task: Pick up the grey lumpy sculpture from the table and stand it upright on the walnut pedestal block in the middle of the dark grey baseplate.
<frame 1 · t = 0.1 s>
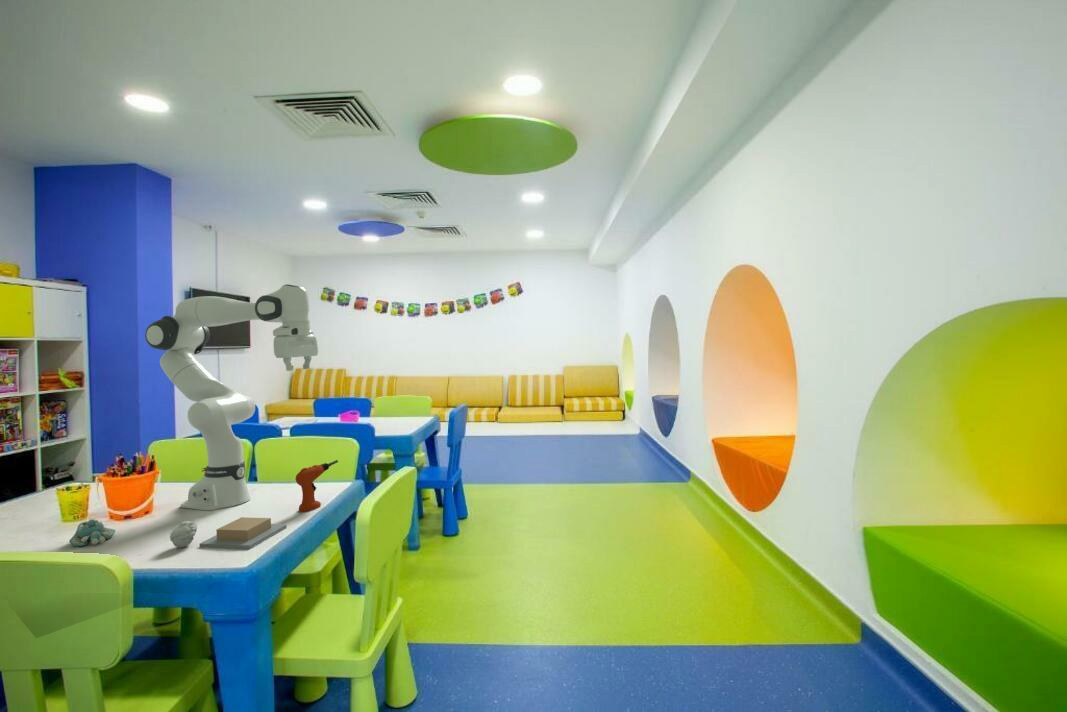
hand: (298, 369, 179), 48 cm above the table, tool pointing down, fingers open, 8 cm apart
grey lumpy sculpture: (184, 547, 145), on the table
toy drill: (320, 504, 180), on the table
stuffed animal: (93, 542, 151), on the table
baseplate: (245, 536, 151), on the table
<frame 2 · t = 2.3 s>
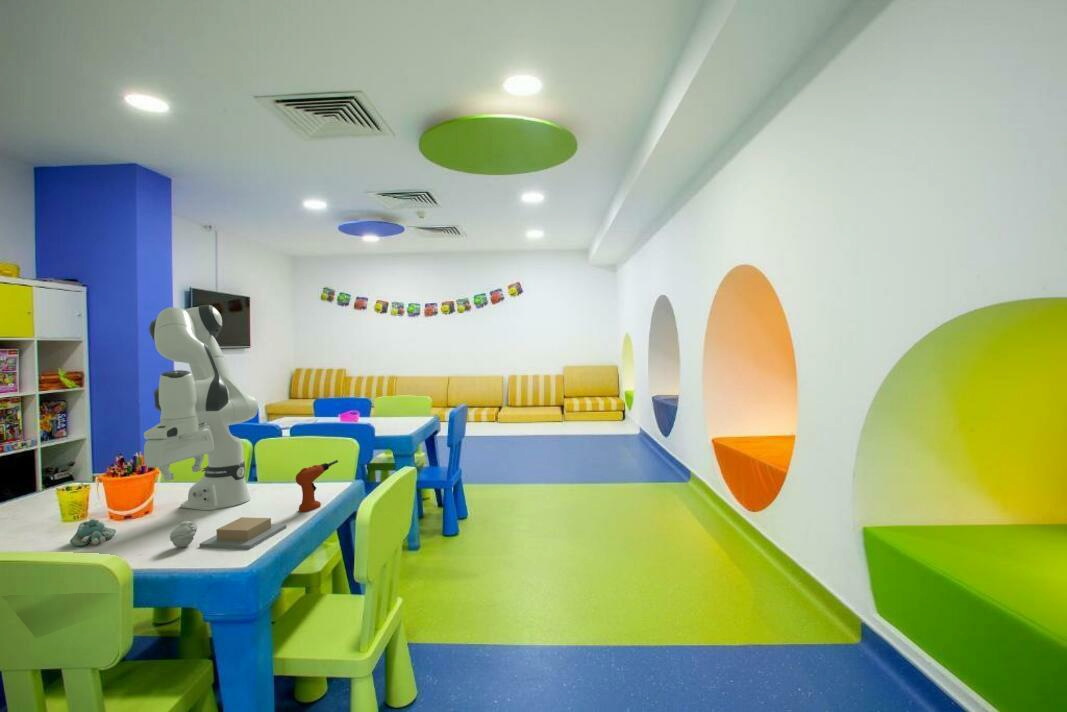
hand: (183, 475, 145), 20 cm above the table, tool pointing down, fingers open, 8 cm apart
nothing on the table moved.
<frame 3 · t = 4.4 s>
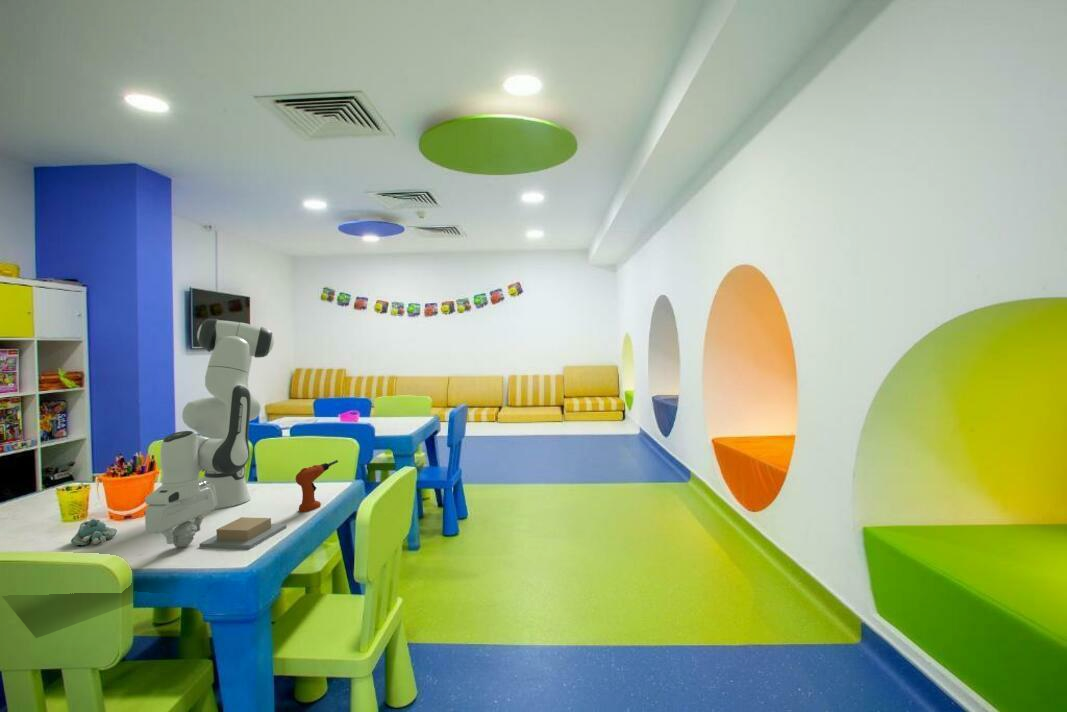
hand: (184, 537, 145), 3 cm above the table, tool pointing down, fingers closed on grey lumpy sculpture, 7 cm apart
grey lumpy sculpture: (184, 547, 145), on the table, touching gripper
everything else where it was.
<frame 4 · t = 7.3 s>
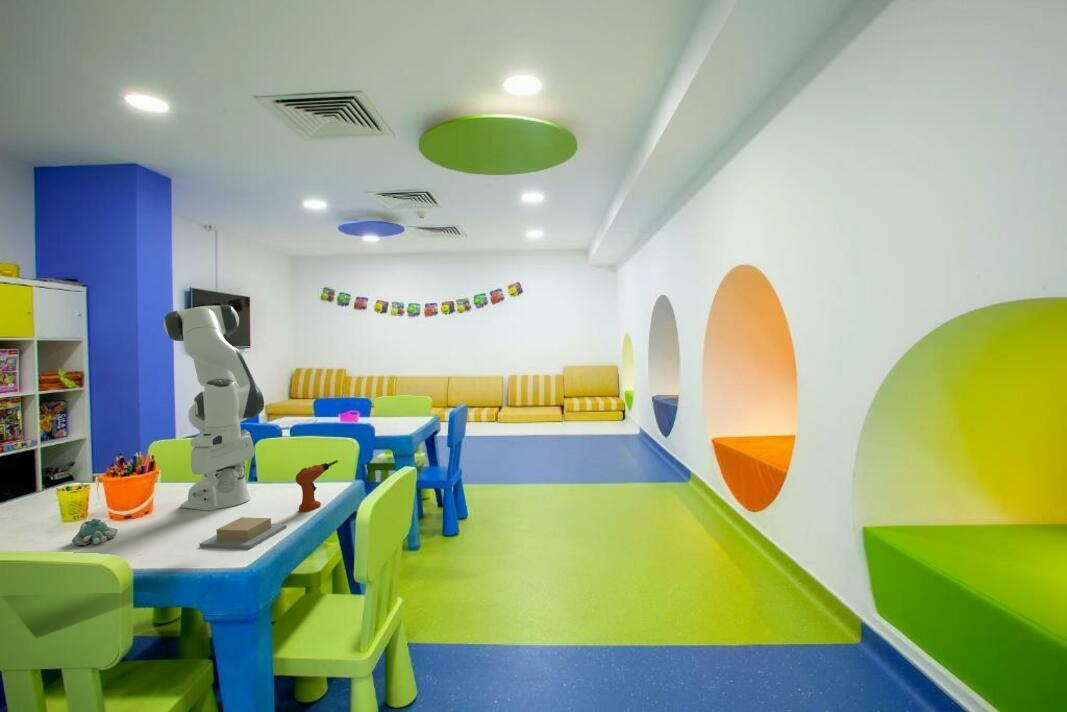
hand: (226, 481, 149), 17 cm above the table, tool pointing down, fingers closed on grey lumpy sculpture, 7 cm apart
grey lumpy sculpture: (227, 493, 149), point 14 cm above the table, touching gripper
everything else where it was.
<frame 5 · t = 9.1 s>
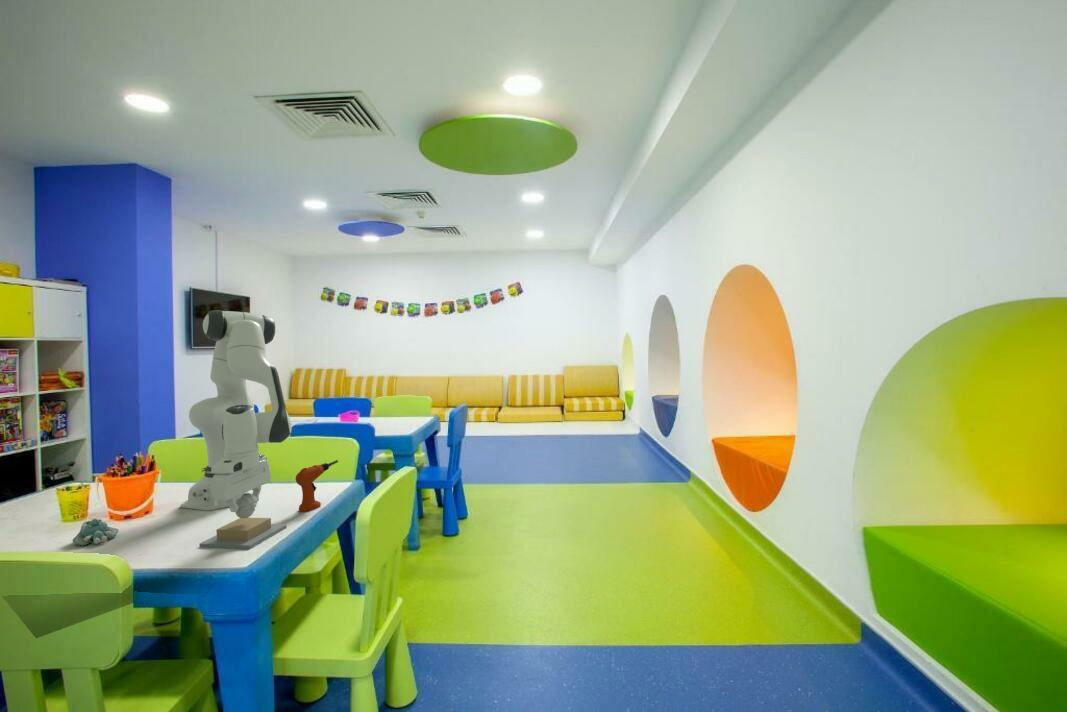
hand: (245, 506, 151), 9 cm above the table, tool pointing down, fingers closed on grey lumpy sculpture, 7 cm apart
grey lumpy sculpture: (246, 517, 151), point 6 cm above the table, touching gripper
everything else where it was.
when the fingers open (8 cm above the table, at t = 10.3 s): grey lumpy sculpture stays where it is, resting on baseplate.
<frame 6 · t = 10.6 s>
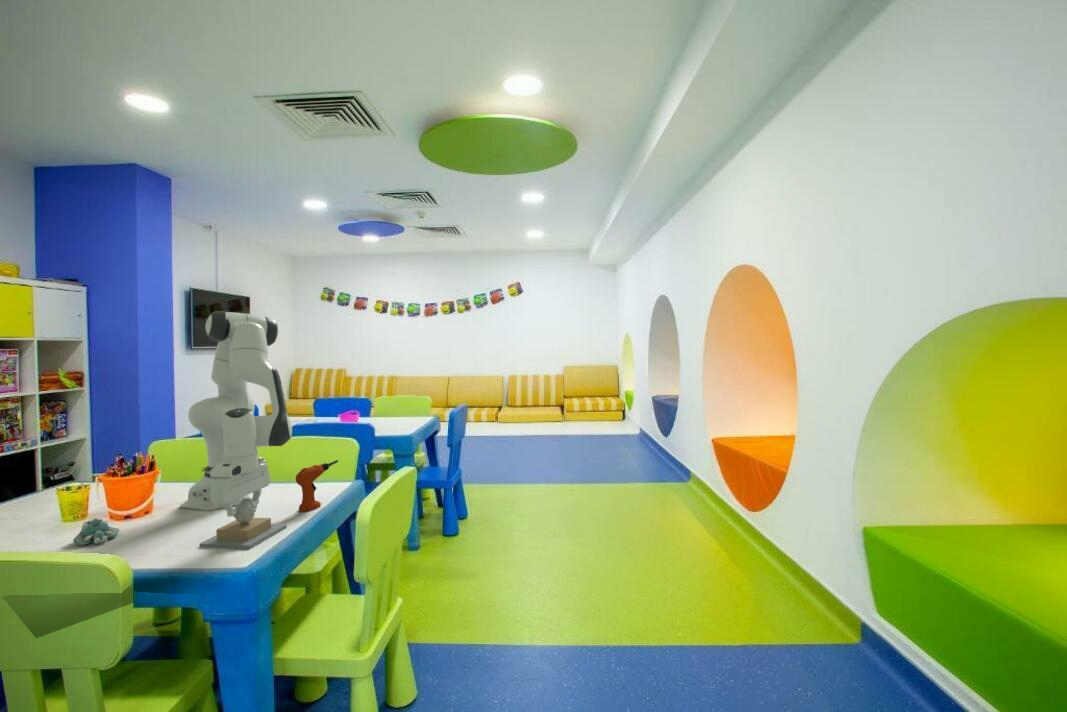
hand: (243, 510, 151), 8 cm above the table, tool pointing down, fingers open, 8 cm apart
grey lumpy sculpture: (246, 522, 152), point 4 cm above the table, touching baseplate, gripper
everything else where it was.
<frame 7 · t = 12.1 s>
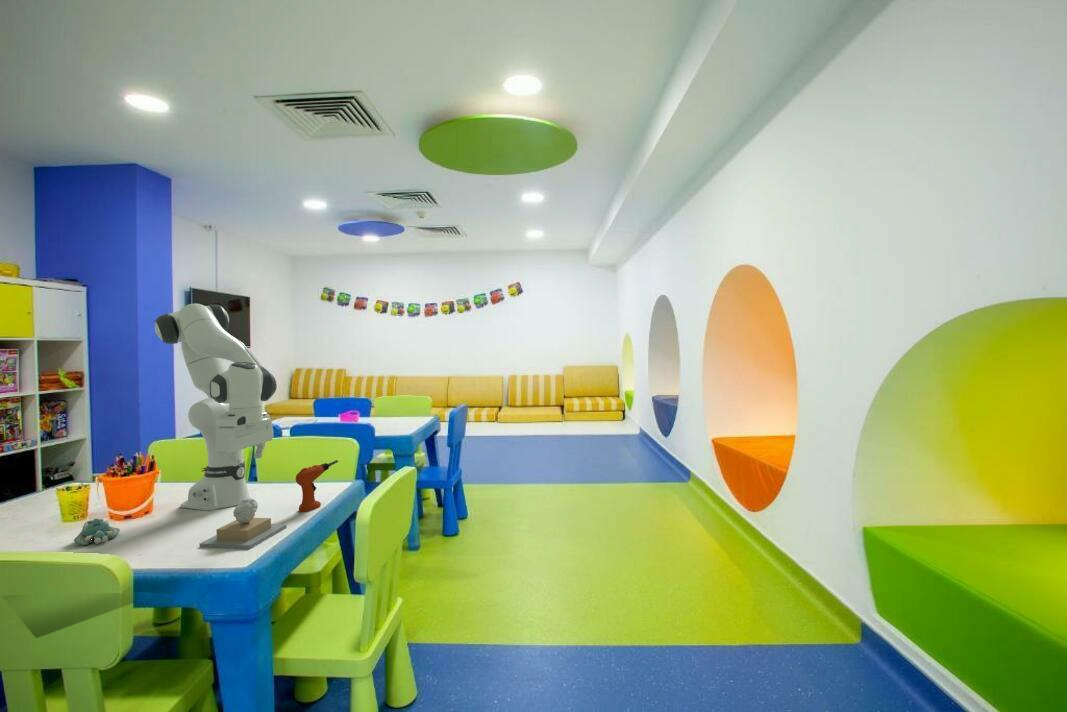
hand: (247, 461, 153), 22 cm above the table, tool pointing down, fingers open, 8 cm apart
grey lumpy sculpture: (246, 523, 152), point 4 cm above the table, touching baseplate
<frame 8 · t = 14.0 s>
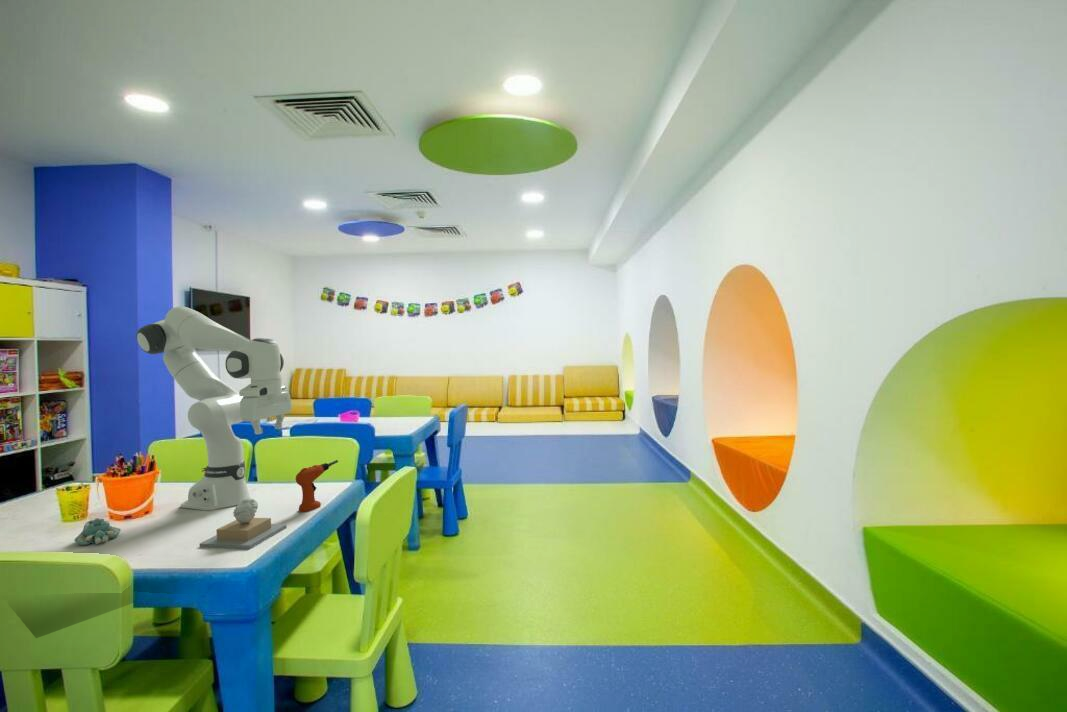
hand: (268, 431, 164), 29 cm above the table, tool pointing down, fingers open, 8 cm apart
at the end: grey lumpy sculpture inside the target area on the baseplate (0.9 cm from its centre), point 3.8 cm above the baseplate's base; grey lumpy sculpture tilted 0°; the gripper is holding nothing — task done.
